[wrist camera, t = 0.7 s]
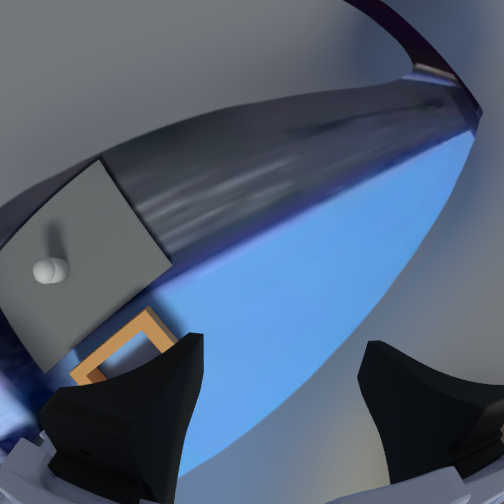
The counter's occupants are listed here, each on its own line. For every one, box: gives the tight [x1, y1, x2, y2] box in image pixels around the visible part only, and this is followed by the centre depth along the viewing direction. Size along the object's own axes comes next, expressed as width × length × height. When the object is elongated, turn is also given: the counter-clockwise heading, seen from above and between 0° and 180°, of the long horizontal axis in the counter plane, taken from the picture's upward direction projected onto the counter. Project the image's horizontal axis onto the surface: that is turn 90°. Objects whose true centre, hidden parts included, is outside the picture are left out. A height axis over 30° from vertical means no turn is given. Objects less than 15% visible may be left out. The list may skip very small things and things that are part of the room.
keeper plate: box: [0, 160, 172, 374], centre depth 21 cm, size 20×14×6 cm
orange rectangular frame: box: [69, 305, 179, 386], centre depth 24 cm, size 11×7×4 cm, turn 129°
